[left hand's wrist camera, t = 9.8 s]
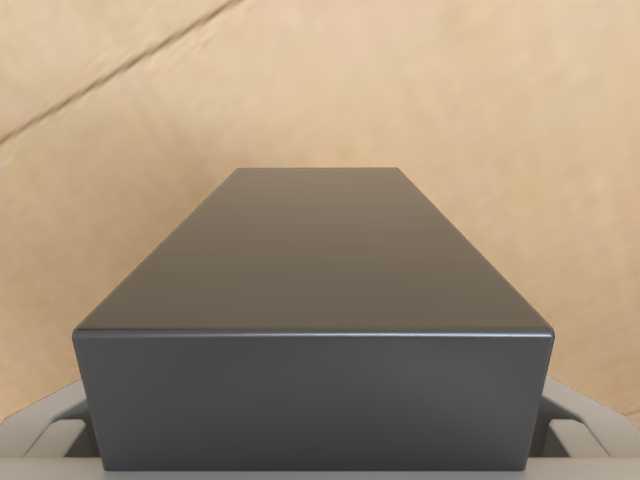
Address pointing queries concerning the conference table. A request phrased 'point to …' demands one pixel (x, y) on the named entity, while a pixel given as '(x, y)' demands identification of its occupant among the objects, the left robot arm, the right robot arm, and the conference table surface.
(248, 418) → the bar
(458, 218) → the conference table surface
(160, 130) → the conference table surface
